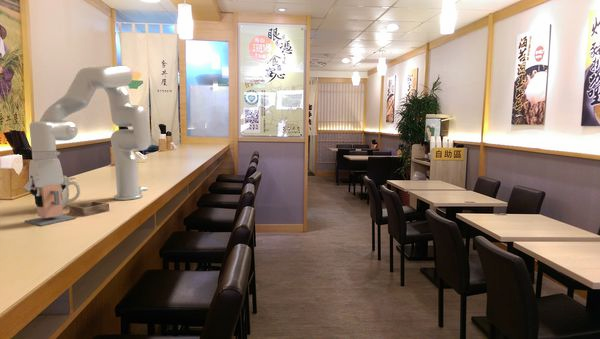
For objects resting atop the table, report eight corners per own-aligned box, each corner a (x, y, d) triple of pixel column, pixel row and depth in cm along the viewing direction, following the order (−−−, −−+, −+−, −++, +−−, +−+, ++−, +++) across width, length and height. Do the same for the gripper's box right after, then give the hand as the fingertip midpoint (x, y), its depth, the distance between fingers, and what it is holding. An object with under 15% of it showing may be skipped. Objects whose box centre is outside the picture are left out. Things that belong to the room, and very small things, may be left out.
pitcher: (77, 210, 168) (74, 176, 166) (28, 212, 165) (24, 178, 163) (85, 204, 179) (82, 173, 177) (39, 206, 175) (36, 174, 173)
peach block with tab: (54, 212, 156) (51, 183, 155) (67, 215, 151) (64, 185, 150) (37, 216, 151) (34, 186, 150) (50, 219, 146) (47, 188, 145)
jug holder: (94, 207, 172) (94, 200, 171) (109, 210, 166) (109, 203, 166) (69, 213, 163) (68, 205, 163) (84, 216, 158) (83, 208, 157)
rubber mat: (58, 214, 160) (58, 213, 160) (75, 218, 154) (75, 217, 154) (24, 221, 150) (24, 220, 150) (41, 226, 144) (41, 224, 144)
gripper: (63, 153, 158) (67, 199, 161) (13, 157, 144) (18, 208, 146) (74, 154, 154) (78, 201, 157) (23, 158, 140) (28, 210, 142)
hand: (49, 204), depth 152 cm, fingers closed on peach block with tab, 6 cm apart
